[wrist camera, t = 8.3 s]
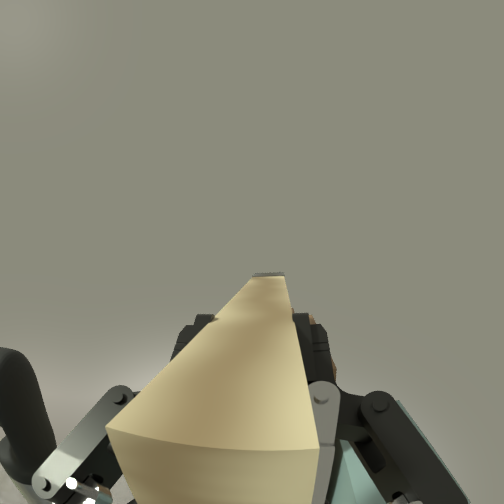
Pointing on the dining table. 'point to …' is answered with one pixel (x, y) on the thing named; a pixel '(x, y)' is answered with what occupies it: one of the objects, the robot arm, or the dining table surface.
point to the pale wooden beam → (226, 412)
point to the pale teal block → (358, 475)
